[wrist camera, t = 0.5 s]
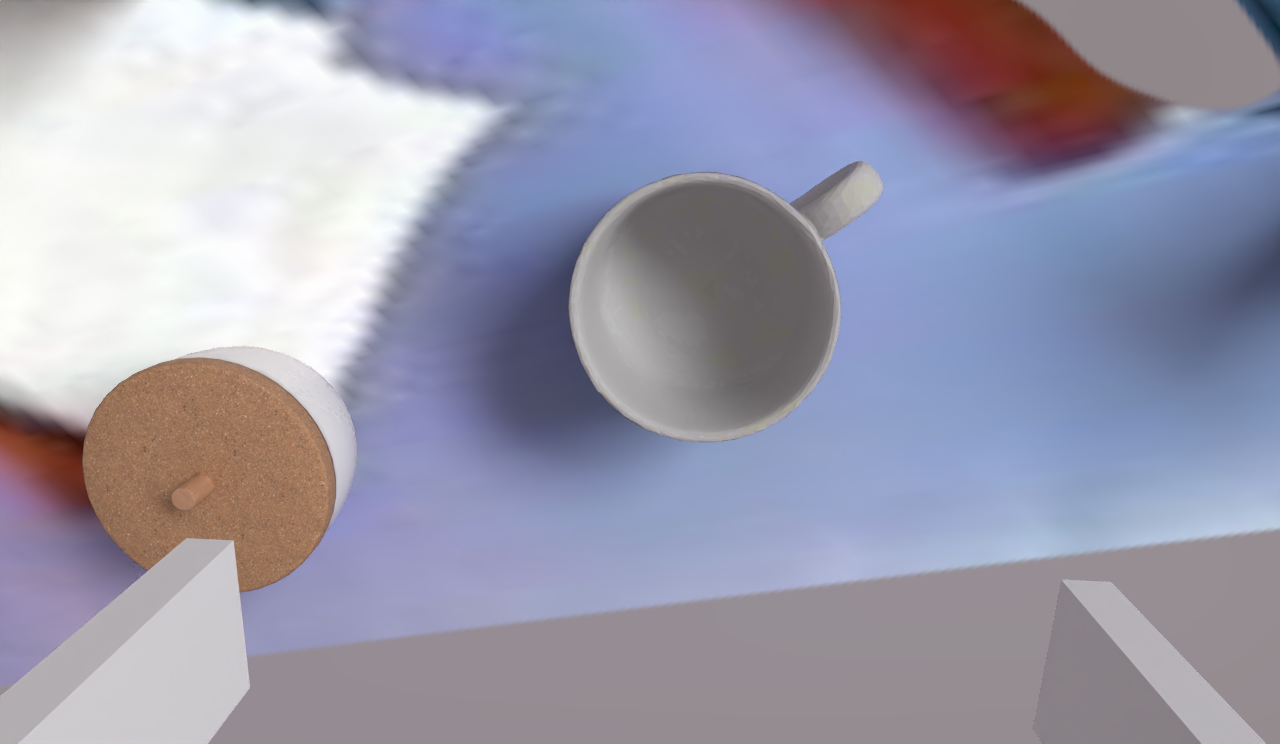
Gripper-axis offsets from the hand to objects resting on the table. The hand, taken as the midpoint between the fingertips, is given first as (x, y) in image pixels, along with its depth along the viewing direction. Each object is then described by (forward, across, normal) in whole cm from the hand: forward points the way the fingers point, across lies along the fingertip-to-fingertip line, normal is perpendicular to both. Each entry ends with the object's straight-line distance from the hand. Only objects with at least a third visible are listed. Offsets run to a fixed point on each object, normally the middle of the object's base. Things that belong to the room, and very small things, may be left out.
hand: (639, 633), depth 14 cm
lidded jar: (+29, -19, -8) cm, 36 cm away
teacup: (+29, +3, +2) cm, 29 cm away
